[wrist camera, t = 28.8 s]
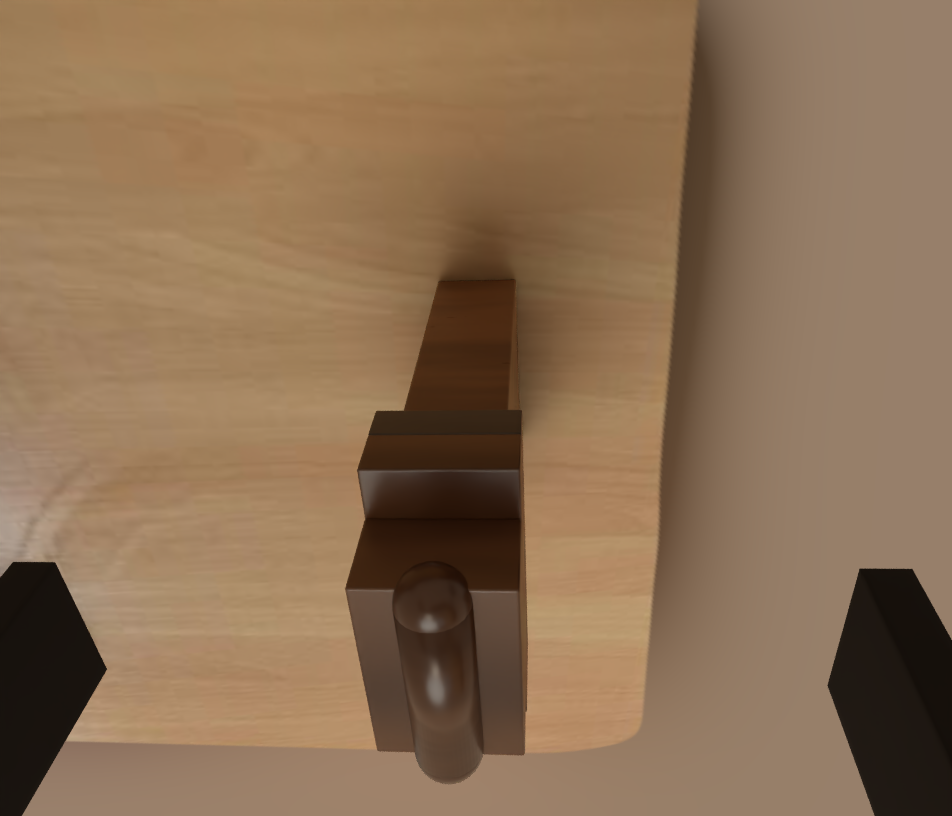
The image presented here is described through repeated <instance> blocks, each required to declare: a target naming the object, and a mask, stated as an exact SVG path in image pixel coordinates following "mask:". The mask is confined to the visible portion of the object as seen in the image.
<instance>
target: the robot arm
mask: <svg viewBox="0 0 952 816" xmlns="http://www.w3.org/2000/svg"><path fill="white" fill-rule="evenodd" d="M106 670H107V668H106V666H105V664H104V662H103V660H102V658H101V656H100V654H99V652H98V650H97V648H96V646H95V644H94V641H93V639H92V637H91V635H90V633H89V631H88V629H87V627H86V625H85V623H84V621H83V619H82V617H81V615H80V613H79V611H78V608H77V606H76V604H75V602H74V600H73V598H72V596H71V594H70V592H69V590H68V588H67V586H66V584H65V582H64V580H63V578H62V576H61V573H60V571H59V569H58V567H57V565H56V563H55V562H13V563H12V564H11V565H10V566H9V568H8V569H7V570H6V571H5V573H4V574H3V575H2V576H1V577H0V816H22V814H23V813H24V811H25V809H26V808H27V806H28V804H29V802H30V801H31V799H32V797H33V796H34V794H35V792H36V790H37V789H38V787H39V785H40V784H41V782H42V780H43V778H44V777H45V775H46V773H47V771H48V770H49V768H50V766H51V765H52V763H53V761H54V759H55V758H56V756H57V754H58V752H59V751H60V749H61V747H62V746H63V744H64V742H65V741H66V739H67V737H68V735H69V734H70V732H71V730H72V729H73V727H74V725H75V723H76V722H77V720H78V718H79V717H80V715H81V713H82V711H83V710H84V708H85V706H86V705H87V703H88V701H89V699H90V698H91V696H92V694H93V693H94V691H95V689H96V687H97V686H98V684H99V682H100V680H101V679H102V677H103V675H104V674H105V672H106ZM828 688H829V690H830V694H831V696H832V699H833V701H834V704H835V707H836V710H837V713H838V716H839V718H840V721H841V724H842V727H843V729H844V732H845V735H846V738H847V740H848V743H849V746H850V749H851V752H852V754H853V757H854V760H855V763H856V765H857V768H858V771H859V774H860V776H861V779H862V782H863V785H864V787H865V790H866V793H867V796H868V799H869V801H870V804H871V807H872V810H873V812H874V815H875V816H952V640H951V638H950V636H949V634H948V633H947V631H946V629H945V627H944V625H943V624H942V622H941V620H940V618H939V616H938V615H937V613H936V611H935V609H934V607H933V606H932V604H931V602H930V600H929V598H928V597H927V595H926V593H925V591H924V589H923V588H922V586H921V584H920V582H919V580H918V578H917V577H916V575H915V573H914V571H913V569H859V573H858V577H857V580H856V584H855V588H854V591H853V595H852V599H851V603H850V606H849V609H848V613H847V617H846V620H845V624H844V628H843V631H842V635H841V638H840V642H839V646H838V650H837V653H836V657H835V660H834V664H833V667H832V671H831V675H830V678H829V682H828Z"/></svg>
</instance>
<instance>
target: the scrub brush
mask: <svg viewBox="0 0 952 816" xmlns="http://www.w3.org/2000/svg"><path fill="white" fill-rule="evenodd" d="M368 435H369V436H368V438H367V441H366V445H365V448H364V451H363V454H362V457H361V460H360V463H359V466H358V469H357V472H358V478H359V484H360V490H361V496H362V502H363V508H364V514H365V521H364V525H363V528H362V532H361V535H360V539H359V542H358V546H357V549H356V553H355V556H354V560H353V563H352V567H351V570H350V574H349V577H348V581H347V584H346V588H345V590H346V595H347V600H348V605H349V610H350V615H351V620H352V625H353V630H354V635H355V640H356V646H357V651H358V656H359V661H360V666H361V671H362V676H363V681H364V686H365V691H366V696H367V701H368V706H369V711H370V716H371V721H372V726H373V731H374V736H375V741H376V746H377V750H378V751H388V752H415V755H416V759H417V762H418V764H419V766H420V768H421V769H422V771H423V772H424V773H425V774H426V775H427V776H428V777H429V778H430V779H432V780H434V781H436V782H439V783H442V784H455V783H459V782H462V781H464V780H465V779H467V778H468V777H470V776H471V775H472V774H473V773H474V772H475V771H476V769H477V768H478V766H479V764H480V762H481V759H482V757H483V754H491V755H524V754H525V712H526V711H527V665H528V632H527V591H526V551H525V511H524V471H523V430H522V410H432V411H376V413H375V416H374V419H373V422H372V425H371V428H370V431H369V434H368Z"/></svg>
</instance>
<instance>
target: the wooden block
mask: <svg viewBox="0 0 952 816" xmlns="http://www.w3.org/2000/svg"><path fill="white" fill-rule="evenodd" d="M432 410H519V380H518V343H517V305H516V281H515V280H485V281H441V282H438V285H437V289H436V293H435V297H434V300H433V304H432V308H431V311H430V315H429V319H428V323H427V326H426V330H425V334H424V337H423V341H422V345H421V349H420V352H419V356H418V360H417V363H416V367H415V371H414V375H413V378H412V382H411V386H410V390H409V393H408V397H407V401H406V404H405V408H404V411H432Z"/></svg>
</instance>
